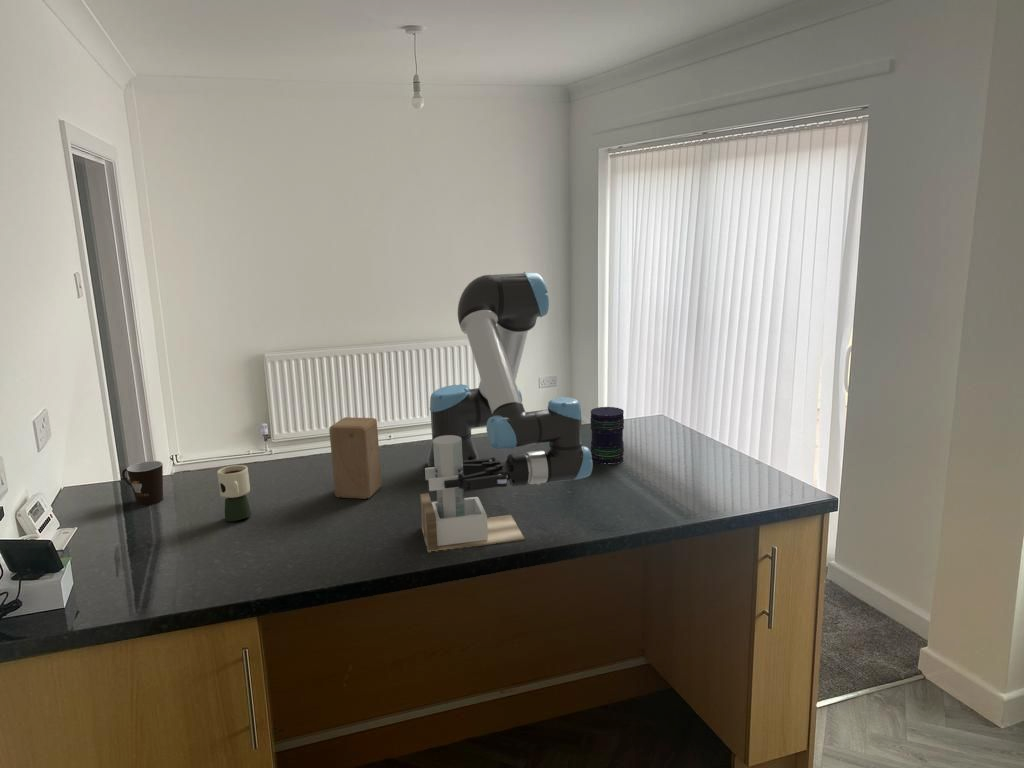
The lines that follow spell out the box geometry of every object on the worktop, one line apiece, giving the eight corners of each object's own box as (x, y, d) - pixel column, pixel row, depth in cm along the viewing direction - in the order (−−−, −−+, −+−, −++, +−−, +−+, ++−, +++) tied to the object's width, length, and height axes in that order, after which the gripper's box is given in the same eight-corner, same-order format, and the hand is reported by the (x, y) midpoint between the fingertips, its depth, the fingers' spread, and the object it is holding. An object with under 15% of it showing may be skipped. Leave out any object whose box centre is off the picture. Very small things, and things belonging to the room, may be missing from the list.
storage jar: (626, 464, 214) (626, 415, 211) (592, 465, 214) (592, 416, 211) (621, 453, 224) (621, 406, 221) (589, 454, 224) (588, 407, 221)
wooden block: (369, 500, 193) (363, 427, 189) (334, 498, 195) (327, 426, 191) (383, 486, 203) (377, 417, 198) (349, 485, 205) (343, 416, 200)
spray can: (439, 516, 173) (434, 435, 168) (467, 516, 172) (463, 434, 168) (436, 528, 166) (430, 444, 162) (464, 527, 166) (460, 443, 162)
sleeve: (431, 525, 175) (429, 502, 173) (478, 519, 177) (477, 496, 176) (437, 546, 164) (435, 521, 162) (488, 539, 166) (486, 514, 165)
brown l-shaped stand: (421, 527, 175) (419, 494, 174) (511, 516, 180) (509, 484, 178) (427, 552, 162) (425, 516, 160) (524, 539, 167) (523, 505, 165)
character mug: (221, 513, 188) (215, 465, 185) (250, 508, 191) (244, 460, 188) (225, 529, 178) (218, 478, 175) (256, 523, 181) (250, 473, 178)
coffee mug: (173, 500, 198) (167, 465, 196) (139, 510, 192) (134, 474, 190) (155, 490, 206) (150, 456, 204) (123, 499, 200) (117, 464, 197)
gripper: (537, 498, 162) (433, 511, 157) (517, 470, 181) (423, 480, 176) (536, 466, 161) (431, 478, 156) (516, 441, 179) (421, 450, 174)
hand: (427, 479), depth 166 cm, fingers closed on spray can, 6 cm apart
